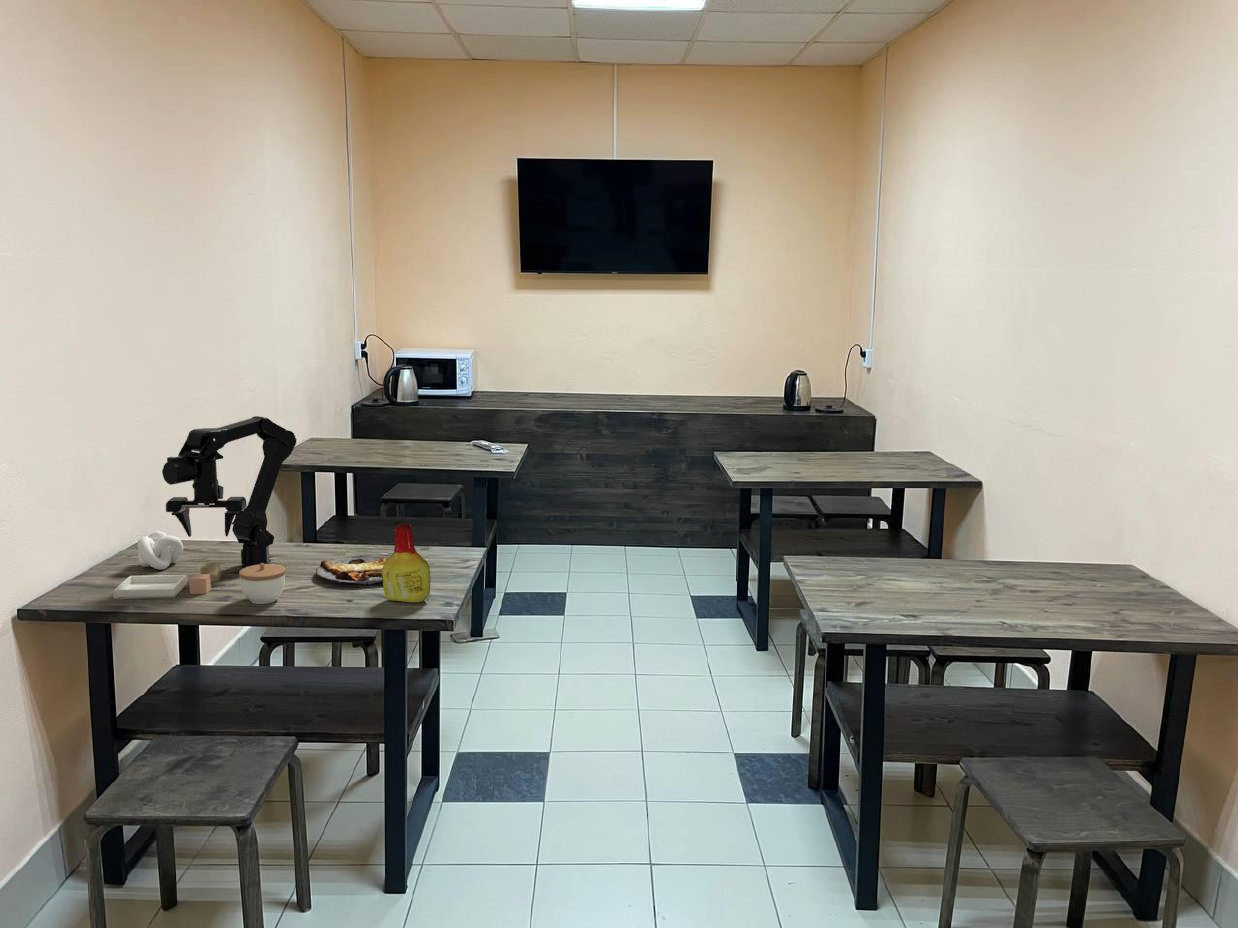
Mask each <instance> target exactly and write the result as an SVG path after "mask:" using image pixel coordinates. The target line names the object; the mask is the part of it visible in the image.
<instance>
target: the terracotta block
mask: <svg viewBox="0 0 1238 928" xmlns="http://www.w3.org/2000/svg"><path fill="white" fill-rule="evenodd" d="M188 583H189V594H190V595H201V594H204V595H205V594H206V595H207V594H208V593H209V592H210V591H211V589H212V585H211V583H212V582H211V580H210V574H201V573H194V574H193V575H191V576H190V577H189V578H188Z"/></svg>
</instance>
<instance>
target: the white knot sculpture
mask: <svg viewBox="0 0 1238 928" xmlns="http://www.w3.org/2000/svg"><path fill="white" fill-rule="evenodd" d="M137 549H138V554H137V555H138V556H137V563H138V564H139V565H140V567H144V568H149V567H152V568H153V569H156V570H158V571H162V570H166V569H167V568H168V567H169V566H170V564H172V563H174V562H177V561H178V560H179V559H180V558H181V557H182V555H183V553H184V544H183V542H182V540H181V539H180V538H179V537H177V536H174V535H169V534H168V535H167V533H165V532H162V531H158V530H157V531H154V532H152V533H150V534H149V535H148V536H141V537H140V538H138V541H137Z"/></svg>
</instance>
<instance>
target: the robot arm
mask: <svg viewBox="0 0 1238 928" xmlns="http://www.w3.org/2000/svg"><path fill="white" fill-rule="evenodd" d="M253 435H257V437H258V438H260V439H261V440H262V446H261V447H262V453H263V461H262V462H261V465H260V469H259V472H258V475H257V477H256V480H255V483H254V486H253V489H252V491H251V494H250V498H249V500H248V502H247V499H246V497H245V496H230V497H228V498H227V499H226V500H224V486H222V485H220V484H219V479H218V470H217V460H218V461H219V460H223V459H224V456H223V455H222V454H221V453H219V450H221V449H223V448H224V446H225V445H227V444H228V443H230V442H235V441H237V440H240V439H243V438H247V437H250V436H253ZM296 445H297V438H296V435H295V433H294V432H293V431H292V430H288V429H286V428H284V427H282V426H281V425H278V424H277V423H275V422H273V420H271V419H270V418H268V417H265V416H259V415H258V416H257V415H255V416H252V417H251V418H248V419H243V420H241V421H237V422H234V423H233V422H232V423H229V424H227V425H223V426H220V427H215V428H214V427H206V428H205V427H204V428H195V429H192V430H190V431H189V432H188V435H187V437H186V439H185V442H184V444H183V446H182V448H181V449H180V450H179V452H178V456H168V457H167V458H166V463H164V464H163V467H162V469H161V473H162V477H163V480H164V481H165V482H166V484H168V485H171V486H172V485H178V484H181V483H187V482H192V489H193V498H194V499H193V500H189V499H188V496H173V497H172V498H170V499H168V500H167V502H165V512H166V513H171V515H172V516H175V517H176V519H177V520H178V521H179V523H180V524H181V526H182V528H183V529H184V531H185V532H186V535H187V536H188V538H190V537H192V525H191V519H190V509H195V508H196V509H198V508H199V509H203V508H204V509H206V508H207V509H209V508H211V509H214V508H216V509H220V508H225V509H226V511H225V512H224V535H225V537H229V533H230V531H231V527H232V532H233V535H234V537H235V538H236V540H237V542H238V543H239V544H242V548H241V550H240V557H241V559H240V560H241V561H240V562H241V565H242V566H241V568H242V569H243V568H246V567H249V566H253V565H259V564H261V563H264V564H271V562H272V559H270V546H271V545H273V544H274V541H275V536H274V535H273V534H272V533H271V532H270V531H269V530H267V526H268V517H267V508H268V505H269V503H270V499H271V497H272V493H273V491H274V488H275V486H276V485H275V484H276V482H277V479H278V476H279V473H280V470H281V467H282V464H283V463H284V462H285V461H286V459H287V458H289V457H290V456H291V455H292V453H293V451H294V449H295V447H296ZM222 499H223V500H222ZM232 525H233V526H232Z"/></svg>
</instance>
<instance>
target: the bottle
mask: <svg viewBox="0 0 1238 928" xmlns="http://www.w3.org/2000/svg"><path fill="white" fill-rule="evenodd" d="M415 547H416V546H415V544H414V534H413V528H412V525H411V524H409V523H399V524H397V525H396V526H395V528H394V548H393V553H392V554H391V555H390V556H389V558H388V559H387V560H386V562H385V563H384V565H383V569H382V577H381V579H383V581H382V587H383V589H382V590H383V593H384V597H386V599H387V600H390V601H394V602H395V601H398V602H405V603H422V602H423V601H425V600H426V598H427V597H428V596H429V595H430V594H431V568H430V564H429V563H428V561H427V560H426V559H425V558H423V556H421V554H420V553H418V551H416V548H415Z"/></svg>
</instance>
